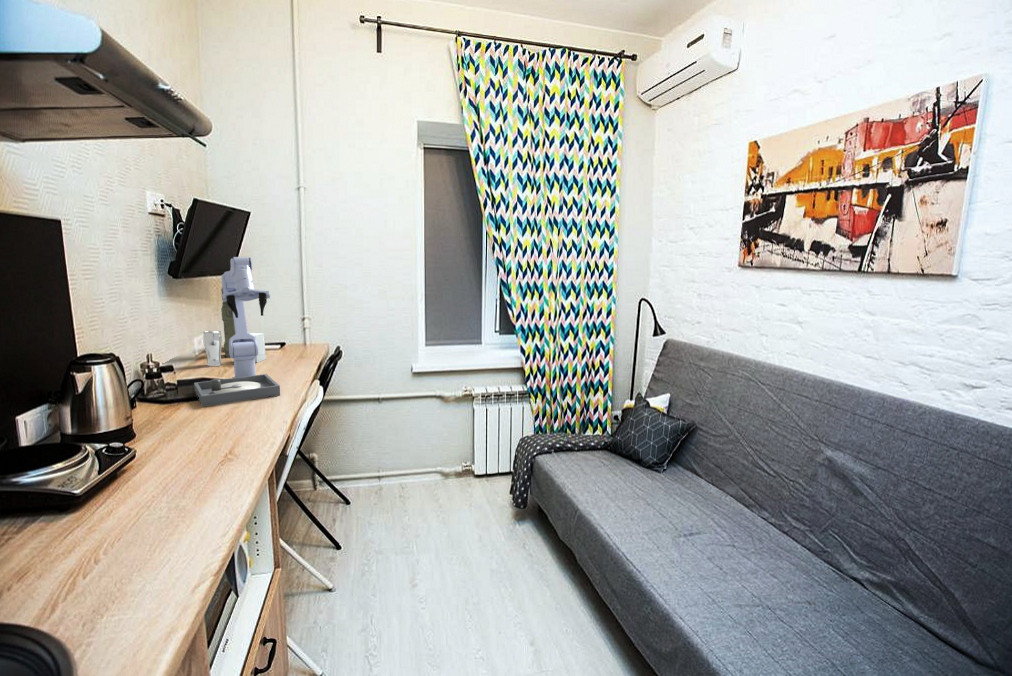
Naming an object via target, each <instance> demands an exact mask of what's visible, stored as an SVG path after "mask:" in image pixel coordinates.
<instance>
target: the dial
mask: <svg viewBox="0 0 1012 676" xmlns="http://www.w3.org/2000/svg"><path fill="white" fill-rule="evenodd" d="M210 381H211V390H212V391H213V394H217V393H225V392H232V391H239V390H247V389H254V388H260V384H259V383H257V382H248V381H243V382H232V383H226V384H222V385H221V379H220V378H213V379H210Z"/></svg>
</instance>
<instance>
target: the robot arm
mask: <svg viewBox="0 0 1012 676" xmlns="http://www.w3.org/2000/svg"><path fill="white" fill-rule="evenodd" d="M229 269H230V270H227V271H224V273H223V274H221V289H222V288H223V294H222V293H221V298H222V297H223V300H222V303H223V302H226V301H227V305H228V307H229V308H231V310H232V311H233V318H234V326H235V335H234V336H232V337H231V338H230V340H229V354H230V357H229V358H230V359H232V360H233V370H234V371H233V372H234V376H232V377H231V378H238V377H246V376H254V375H257V373H256V362H255V357H256V356H257V355H258V343H257V340H256V338H255V336H253V335H251V334H249V333H250V332H249V330H248V325H247V317H246V310H245V309H246V308H245V302H249V301H253V300H256V299H258V305H259V308H260V309H259V310H260V316H261V317H262V316H264V311H265V310H264V309H265V307H266V305H267V303H268V300H267V299H271V294H270V290H259V289H255V285H254V279H253V261H252V258H251V257H248V256H247V257H246V256H233V258H230V268H229Z"/></svg>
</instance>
